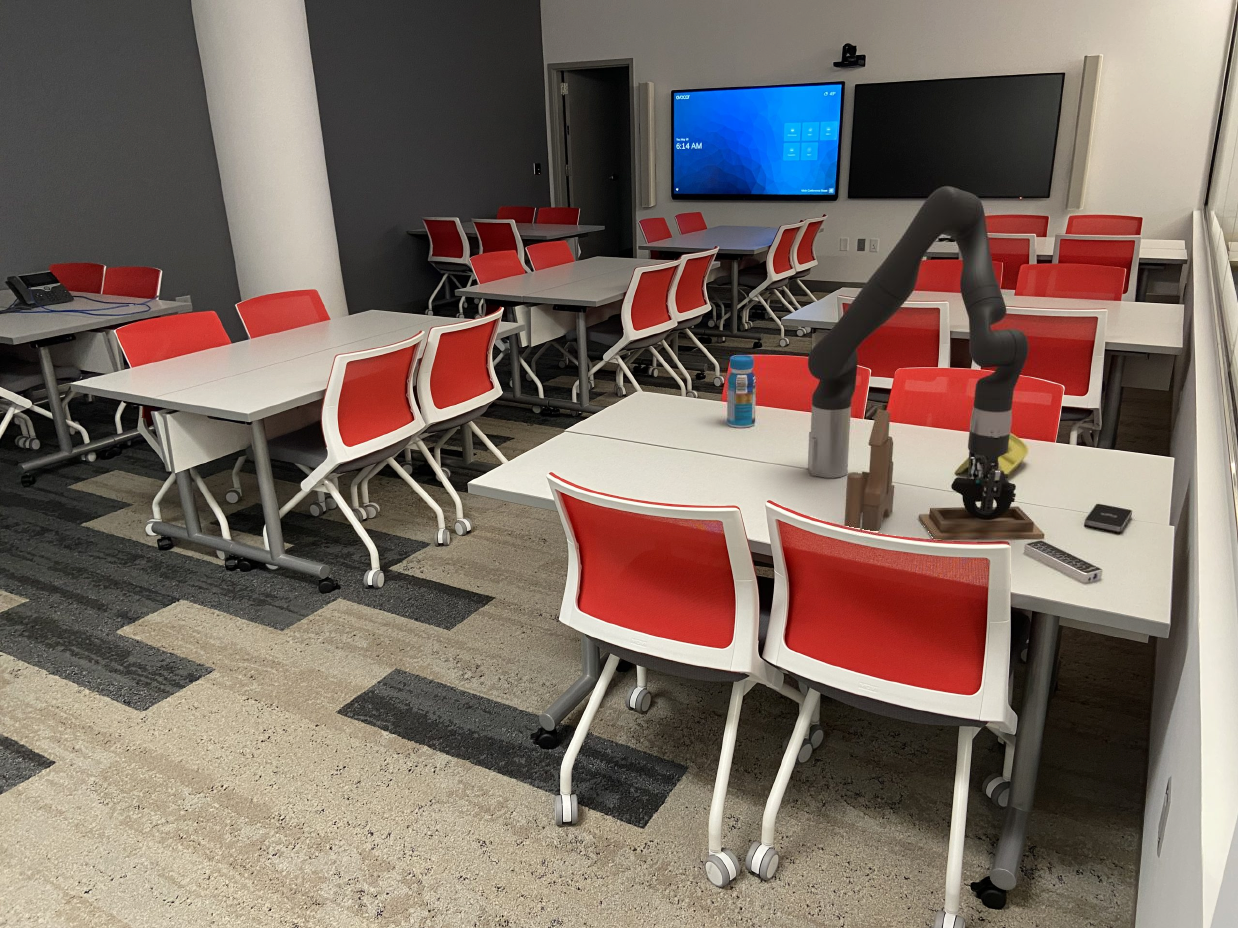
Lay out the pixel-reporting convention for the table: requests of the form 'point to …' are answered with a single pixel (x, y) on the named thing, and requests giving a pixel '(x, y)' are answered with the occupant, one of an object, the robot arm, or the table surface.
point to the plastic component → (1007, 456)
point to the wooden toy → (872, 481)
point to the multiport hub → (1063, 561)
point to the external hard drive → (1108, 518)
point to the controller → (973, 490)
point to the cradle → (979, 525)
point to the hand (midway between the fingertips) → (981, 506)
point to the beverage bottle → (741, 392)
